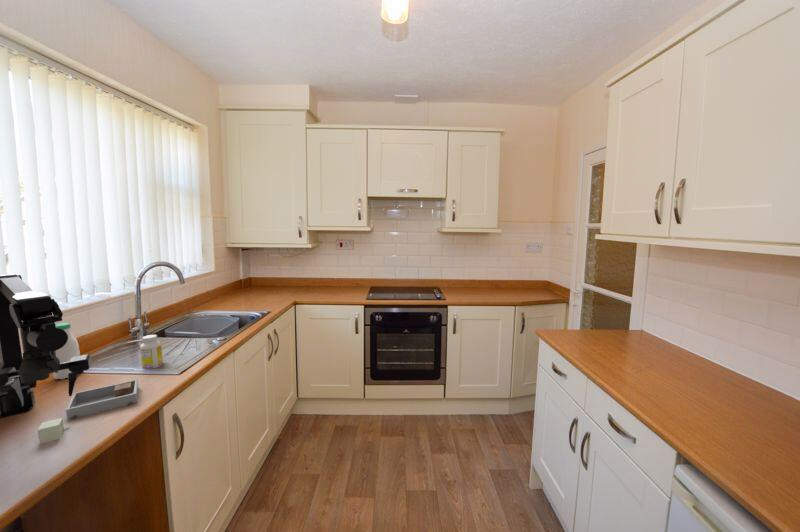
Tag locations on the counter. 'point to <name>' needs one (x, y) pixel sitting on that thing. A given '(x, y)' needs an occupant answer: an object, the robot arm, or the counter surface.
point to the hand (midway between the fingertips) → (47, 400)
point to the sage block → (50, 430)
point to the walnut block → (123, 389)
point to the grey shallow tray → (99, 400)
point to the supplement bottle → (151, 352)
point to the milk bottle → (66, 351)
